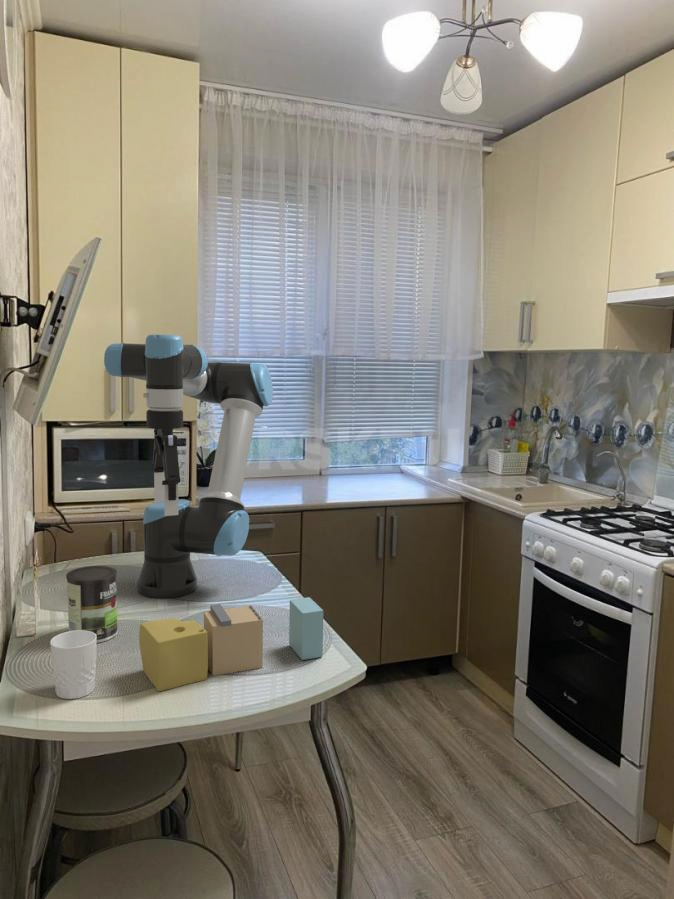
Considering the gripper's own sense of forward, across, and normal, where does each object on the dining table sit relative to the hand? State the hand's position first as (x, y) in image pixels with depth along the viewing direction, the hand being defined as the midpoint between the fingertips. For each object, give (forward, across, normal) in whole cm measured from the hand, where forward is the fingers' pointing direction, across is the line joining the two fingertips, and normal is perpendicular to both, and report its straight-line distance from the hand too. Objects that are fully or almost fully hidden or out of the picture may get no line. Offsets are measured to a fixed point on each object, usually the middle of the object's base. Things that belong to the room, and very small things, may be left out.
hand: (166, 508), depth 146 cm
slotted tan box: (+29, +18, +10) cm, 35 cm away
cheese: (+29, +19, -2) cm, 35 cm away
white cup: (+29, +19, -20) cm, 40 cm away
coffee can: (+29, -6, -15) cm, 33 cm away
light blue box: (+29, +18, +26) cm, 43 cm away
